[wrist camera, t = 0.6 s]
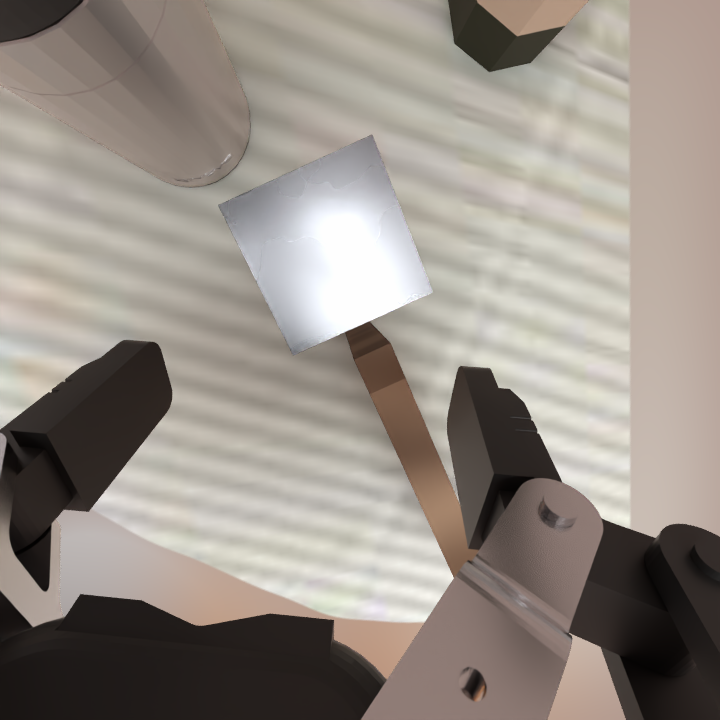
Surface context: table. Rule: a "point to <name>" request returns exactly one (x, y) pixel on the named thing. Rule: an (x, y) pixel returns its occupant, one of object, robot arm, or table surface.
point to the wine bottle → (508, 28)
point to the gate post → (328, 245)
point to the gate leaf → (411, 441)
